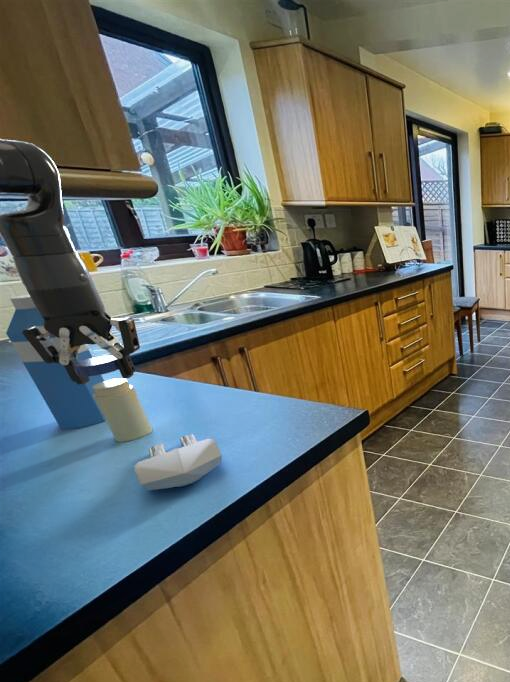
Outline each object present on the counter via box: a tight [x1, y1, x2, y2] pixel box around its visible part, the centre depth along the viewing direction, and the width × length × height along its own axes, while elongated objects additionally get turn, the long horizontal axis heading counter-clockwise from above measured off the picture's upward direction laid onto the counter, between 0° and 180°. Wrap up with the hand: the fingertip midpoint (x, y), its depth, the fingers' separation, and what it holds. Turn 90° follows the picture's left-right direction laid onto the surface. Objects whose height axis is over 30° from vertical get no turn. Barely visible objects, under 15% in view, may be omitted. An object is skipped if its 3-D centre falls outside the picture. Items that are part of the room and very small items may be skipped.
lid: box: [73, 354, 119, 377], centre depth 69 cm, size 6×6×2 cm
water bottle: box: [5, 294, 106, 430], centre depth 77 cm, size 9×9×25 cm
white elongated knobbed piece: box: [133, 433, 223, 491], centre depth 64 cm, size 10×20×5 cm, turn 45°
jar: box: [92, 377, 154, 443], centre depth 73 cm, size 5×5×10 cm
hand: (106, 379), depth 71 cm, fingers closed on lid, 5 cm apart
